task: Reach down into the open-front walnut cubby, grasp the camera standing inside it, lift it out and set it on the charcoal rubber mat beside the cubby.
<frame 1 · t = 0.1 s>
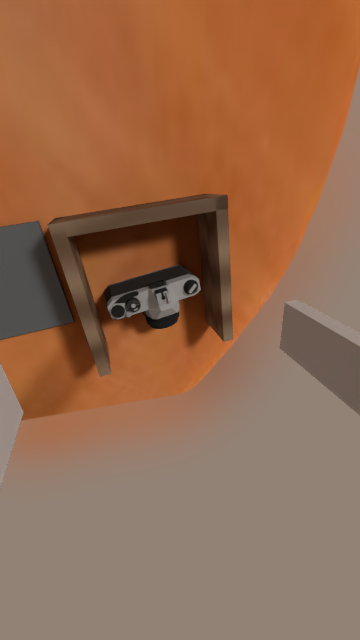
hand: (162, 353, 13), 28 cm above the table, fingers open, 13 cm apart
camera: (150, 293, 41), on the table
cubby: (148, 277, 40), on the table
mat: (10, 284, 35), on the table
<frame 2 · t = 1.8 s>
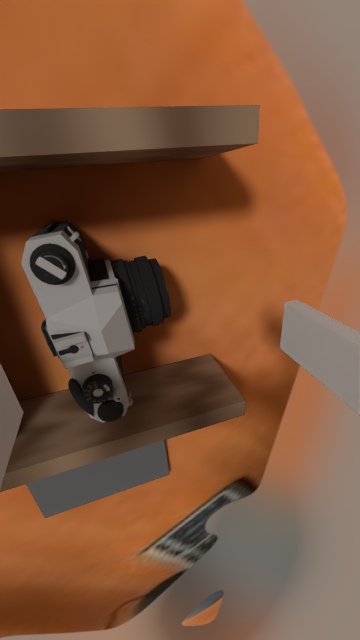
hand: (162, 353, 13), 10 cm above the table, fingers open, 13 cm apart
camera: (110, 295, 22), on the table
cubby: (88, 292, 21), on the table
mat: (99, 456, 28), on the table
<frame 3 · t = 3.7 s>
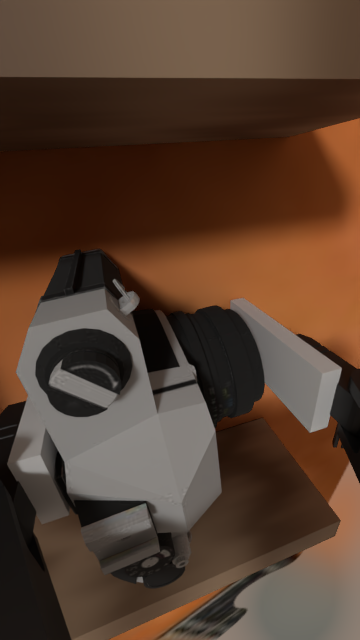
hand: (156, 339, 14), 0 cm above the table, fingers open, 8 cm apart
camera: (151, 354, 15), on the table, touching gripper
cubby: (96, 350, 13), on the table
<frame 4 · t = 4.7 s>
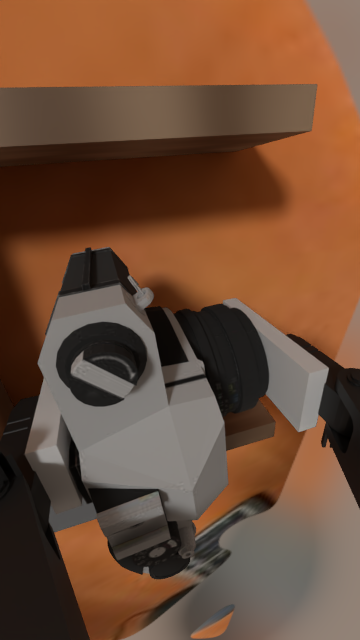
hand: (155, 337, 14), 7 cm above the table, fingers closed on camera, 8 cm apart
camera: (157, 351, 15), point 6 cm above the table, touching gripper
cubby: (105, 299, 19), on the table
mat: (111, 470, 27), on the table
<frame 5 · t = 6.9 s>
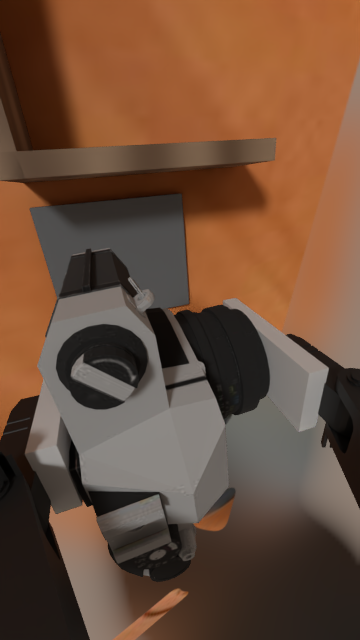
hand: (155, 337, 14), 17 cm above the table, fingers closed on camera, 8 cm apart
camera: (157, 352, 15), point 16 cm above the table, touching gripper
cubby: (118, 27, 21), on the table
mat: (121, 262, 28), on the table
when the fingers open (2 cm above the table, at t = 9.2 s): camera stays where it is, resting on mat.
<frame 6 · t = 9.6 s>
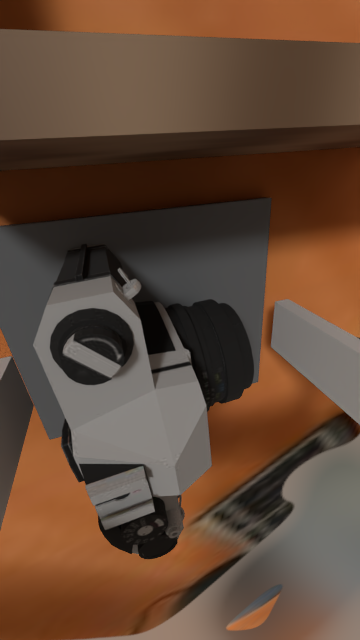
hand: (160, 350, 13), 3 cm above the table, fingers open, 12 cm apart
camera: (150, 345, 15), resting on mat
mat: (149, 323, 15), on the table
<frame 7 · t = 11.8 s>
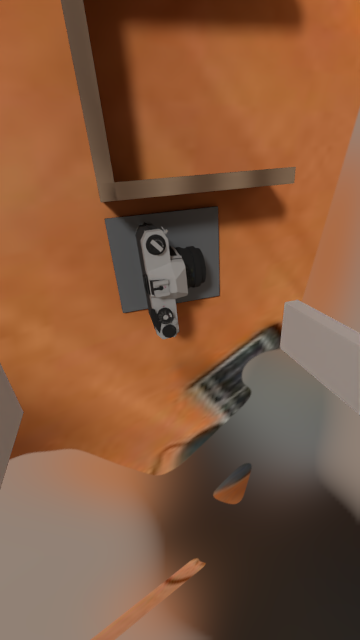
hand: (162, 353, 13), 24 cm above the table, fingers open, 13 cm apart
camera: (166, 269, 35), resting on mat
cubby: (178, 85, 28), on the table
mat: (167, 260, 35), on the table
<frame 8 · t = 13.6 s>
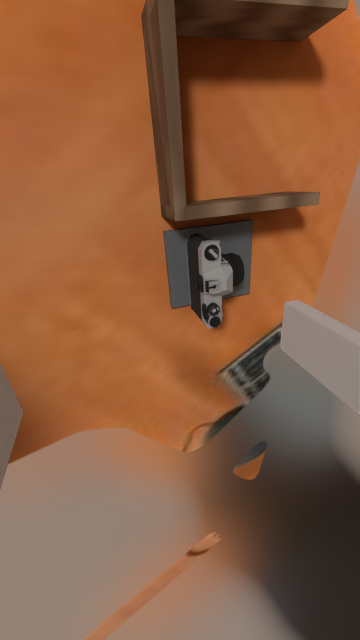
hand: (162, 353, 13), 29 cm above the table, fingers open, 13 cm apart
camera: (207, 271, 43), resting on mat
cubby: (227, 127, 35), on the table
mat: (209, 264, 43), on the table
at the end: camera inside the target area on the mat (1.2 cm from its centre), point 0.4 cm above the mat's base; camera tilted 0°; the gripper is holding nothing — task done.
